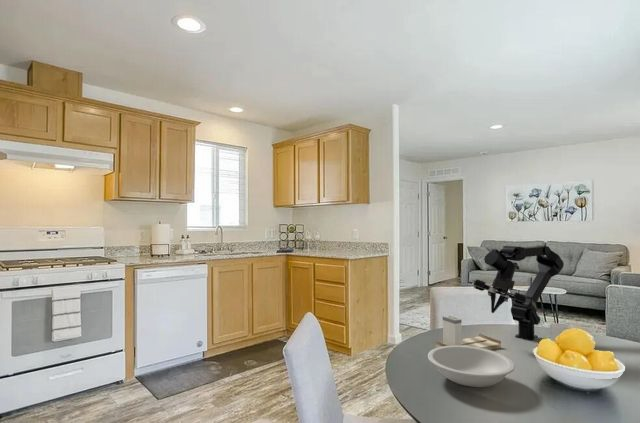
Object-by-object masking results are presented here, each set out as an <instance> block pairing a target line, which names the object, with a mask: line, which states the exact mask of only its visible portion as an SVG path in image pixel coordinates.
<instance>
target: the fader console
mask: <svg viewBox="0 0 640 423" xmlns="http://www.w3.org/2000/svg"><path fill="white" fill-rule="evenodd" d="M443 346H448V345H446V344H443V342H441V341H439V340H435V348H438V347H443ZM461 346H471V347H478V348H483V349H487V350H491V351H493V350H496V349H501V348H502V341H501V340H498V339H497V338H493V337H491V336H488V335H486V334H482V333H478V336H475V337H473V336H472V337H469V338H468V337H467V338H461Z"/></svg>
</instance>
